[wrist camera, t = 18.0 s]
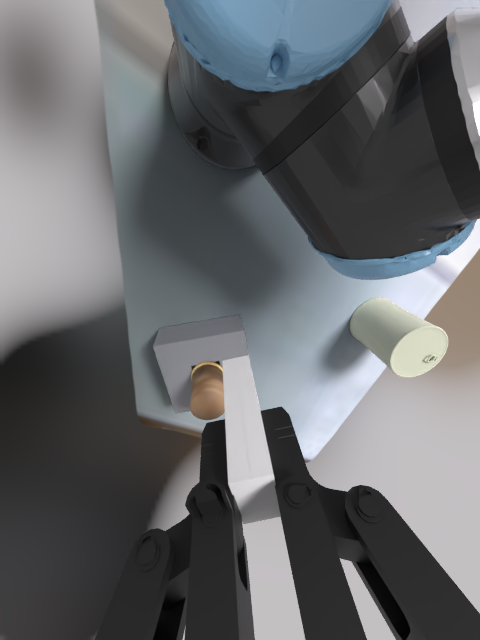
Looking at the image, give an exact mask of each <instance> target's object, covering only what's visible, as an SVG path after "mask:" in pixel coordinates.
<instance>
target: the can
mask: <svg viewBox="0 0 480 640" xmlns="http://www.w3.org/2000/svg"><path fill="white" fill-rule="evenodd" d="M350 331H351V333H352V335H353V336H354V337H355V338H356V339H357V340H359V341H360V342H362V343H363V344H364V345H365V346H366V347H367V348H368V349H369V350H371V351H372V352H373V353H374V354H375V355H376V356H377V357H378V358H379V359H380V360H381V361H383V362H384V363H385V364H386V365H387V366H388V367H389V368H390V369H391V370H392V371H393V372H394V373H395V374H396V375H398V376H401V377H415V376H419V375H421V374H423V373H426V372H427V371H429V370H430V369H432V368H433V367H434V366H436V365H437V364H438V363H439V361H440V360H441V359H442V358H443V356H444V354H445V353H446V350H447V347H448V336H447V334H446V332H445V331H444V330H443V329H441V328H439V327H437V326H434V325H433V324H431V323H429V322H427V321H425V320H423V319H421V318H419V317H417V316H415V315H414V314H412V313H410V312H408V311H406V310H404V309H403V308H401V307H399V306H397V305H395V304H394V303H393V302H391V301H390V300H388V299H386V298H374V299H371V300H368V301H366V302H365V303H363V304H362V305H360V306H359V307H358V308H357V309H356V311H355V312H354V314H353V315H352V318H351V321H350Z"/></svg>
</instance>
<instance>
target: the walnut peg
mask: <svg viewBox="0 0 480 640" xmlns="http://www.w3.org/2000/svg"><path fill="white" fill-rule="evenodd" d="M191 380H192V389H191V402H190V410H191V412H192V414H193V415H194V416H195V417H197V418H199V419H203V420H212V419H215V418H218V417H219V416H221V415H222V414H223V413H224V412H225V406H224V385H223V368H222V366H221V365H219V364H218V361H216V362H212V361H205V362H201V363H199V364H197V365H196V366H195V367H194V368H193V370H192V373H191Z"/></svg>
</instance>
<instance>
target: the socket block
mask: <svg viewBox="0 0 480 640" xmlns="http://www.w3.org/2000/svg"><path fill="white" fill-rule="evenodd" d="M153 349H154V352H155V355H156V358H157V361H158V364H159V367H160V369H161V372H162V375H163V378H164V381H165V384H166V387H167V390H168V393H169V396H170V399H171V402H172V405H173V408H174V411H175V414H177V413H182V412H187V411H191V410H190V402H191V389H192V380H191V373H192V370H193V368H194V367H195V366H196V365H197V364H199V363H201V362H205V361H212V362H216V361H220V363H218V364H219V365H221V366H222V368H223V364H222V361H223V360H228V359H233V358H237V357H242V356H247V355H248V350H247V343H246V336H245V329H244V326H243V323H242V320H241V316H240V314H238V315H232V316H226V317H221V318H215V319H209V320H203V321H197V322H191V323H186V324H180V325H174V326H168V327H162V328H159V330H158V333H157V336H156V339H155V341H154V344H153Z"/></svg>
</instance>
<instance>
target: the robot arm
mask: <svg viewBox="0 0 480 640" xmlns="http://www.w3.org/2000/svg"><path fill="white" fill-rule="evenodd" d="M164 2H165V6H166V7H167V9H168V12H169V18H170V22H171V27H172V32H173V37H174V42H173V45H172V49H171V53H170V58H169V66H168V88H169V96H170V102H171V106H172V109H173V113H174V116H175V118H176V121H177V124H178V126H179V128H180V130H181V132H182V134H183V136H184V138H185V139H186V141H187V142H188V144H189V145H190V146H191V147H192V149H193V150H194V151H195V152H196V153H197V154H198V155H199V156H201V157H202V158H203V159H205V160H206V161H208V162H209V163H211V164H213V165H215V166H218V167H221V168H224V169H231V170H239V169H246V168H249V167H252V166H255V165H257V167H258V168H259V170H260V171H261V172H262V174H263V176H264V177H265V178H266V180H267V181H268V183H269V184H270V185H271V187H272V188H273V189H274V191H275V192H276V193H277V195H278V196H279V198H280V199H281V200H282V202H283V203H284V204H285V206H286V207H287V208H288V210H289V211H290V213H291V214H292V215H293V217H294V218H295V219H296V221H297V222H298V223H299V225H300V226H301V228H302V229H303V230H304V232H305V233H306V234H307V236H308V240H309V242H310V244H311V246H312V247H313V248H314V249H315V250H316V251H317V252H318V253H319V254H321V255H322V256H323V257H324V258H325V260H326V261H327V262H328V263H329V264H330V266H331V267H332V268H333V269H335V270H336V271H337V272H339V273H341V274H342V275H345V276H347V277H351V278H355V279H362V280H378V279H388V278H393V277H398V276H402V275H406V274H409V273H412V272H415V271H418V270H420V269H423V268H425V267H427V266H430V265H432V264H433V263H435V261H436V256H438V255H449V254H450V253H451V252H453V251H454V250H456V249H457V248H458V247H459V246H460V245H461V244H462V243H463V242H464V241H465V240H466V239H467V238H468V236H469V235H470V233H471V232H472V230H473V228H474V225H475V222H476V220H477V219H479V218H480V8H457V9H455V10H454V11H453V12H451V13H450V14H449V15H447V16H446V17H445V18H444V19H443V20H442V21H441V22H439V23H438V24H437V25H436V26H435V27H434V28H433V29H431V30H430V31H429V32H428V33H427V34H426V35H424V36H423V37H422V38H421V39H420V40H418V41H417V42H414V41H413V39H412V36H411V34H410V31H409V28H408V25H407V22H406V19H405V17H404V14H403V11H402V8H401V7H400V3H399V0H164ZM222 364H223V385H224V406H225V419H224V420H219V421H214V422H210V423H207V424H206V426H205V428H204V430H203V433H202V443H201V446H202V447H201V462H200V482H199V483H198V484H197V485H196V486H195V487H193V488H192V490H191V491H190V493H189V495H188V497H187V501H186V504H185V506H186V507H187V510H188V511H189V513H190V514H189V515H188V516H187V517H186V518H185V519H184V520H182V521H181V522H179V523H178V524H176V525H175V526H173V527H171V528H170V529H168V530H166V531H163V530H161V529H151V530H149V531H147V532H146V533H144V534H143V535H142V536H141V537H140V538H139V539H138V540H137V541H136V542H135V544H134V546H133V548H132V549H131V551H130V554H129V556H128V558H127V561H126V563H125V566H124V569H123V571H122V573H121V576H120V578H119V581H118V583H117V586H116V588H115V591H114V594H113V596H112V598H111V601H110V603H109V606H108V608H107V611H106V613H105V616H104V618H103V621H102V623H101V626H100V628H99V631H98V633H97V636H96V638H95V640H182V639H183V634H184V629H185V625H186V630H185V640H255V638H254V626H253V616H252V605H251V594H250V583H249V572H248V561H247V550H246V543H245V539H244V536H243V528H242V521H243V524H246V523H251V522H256V521H261V520H265V519H270V518H275V517H280V516H281V520H282V524H283V530H284V535H285V540H286V545H287V549H288V554H289V559H290V565H291V570H292V575H293V579H294V584H295V589H296V594H297V599H298V604H299V609H300V614H301V619H302V624H303V629H304V634H305V639H306V640H367V638H366V636H365V632H364V630H363V627H362V624H361V621H360V618H359V615H358V612H357V609H356V606H355V603H354V600H353V597H352V594H351V591H350V588H349V585H348V582H347V580H346V576H345V573H344V570H343V567H342V565H341V562H340V559H339V558H341V559H345V560H349V561H352V563H353V565H354V567H355V568H356V570H357V572H358V574H359V575H360V577H361V579H362V580H363V582H364V584H365V586H366V588H367V589H368V591H369V593H370V594H371V596H372V598H373V600H374V602H375V603H376V605H377V607H378V609H379V610H380V612H381V614H382V616H383V617H384V619H385V621H386V622H387V624H388V626H389V628H390V630H391V631H392V633H393V635H394V636H395V638H396V640H480V614H479V612H478V611H477V610H476V609H475V608H474V606H473V605H472V604H471V603H470V601H469V600H468V599H467V598H466V596H465V595H464V594H463V593H462V591H461V590H460V589H459V588H458V586H457V585H456V584H455V583H454V582H453V580H452V579H451V578H450V577H449V576H448V574H447V573H446V572H445V570H444V569H443V568H442V567H441V566H440V564H439V563H438V562H437V561H436V559H435V558H434V557H433V556H432V554H431V553H430V552H429V551H428V550H427V548H426V547H425V546H424V545H423V543H422V542H421V541H420V540H419V539H418V537H417V536H416V535H415V533H414V532H413V531H412V530H411V529H410V528H409V526H408V525H407V524H406V522H405V521H404V520H403V519H402V517H401V516H400V515H399V514H398V513H397V511H396V510H395V509H394V508H393V506H392V505H391V504H390V503H389V502H388V500H387V499H386V498H385V497H384V496H383V495H382V494H381V493H380V492H379V491H377V490H375V489H373V488H371V487H369V486H363V485H359V486H355V487H352V488H351V489H350V490H349V491H348V492H345V491H339V490H333V489H329V488H325V487H323V486H321V485H320V484H318V483H317V482H316V481H315V480H314V479H313V478H312V477H311V476H310V474H309V472H308V470H307V467H306V464H305V461H304V458H303V455H302V452H301V449H300V446H299V443H298V440H297V437H296V434H295V431H294V428H293V425H292V422H291V419H290V416H289V414H288V413H287V412H286V411H285V410H284V409H283V408H282V407H277V408H273V409H268V410H263V411H261V410H260V406H259V401H258V396H257V391H256V387H255V382H254V378H253V373H252V368H251V364H250V359H249V355H247V356H242V357H237V358H233V359H228V360H223V361H222Z"/></svg>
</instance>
